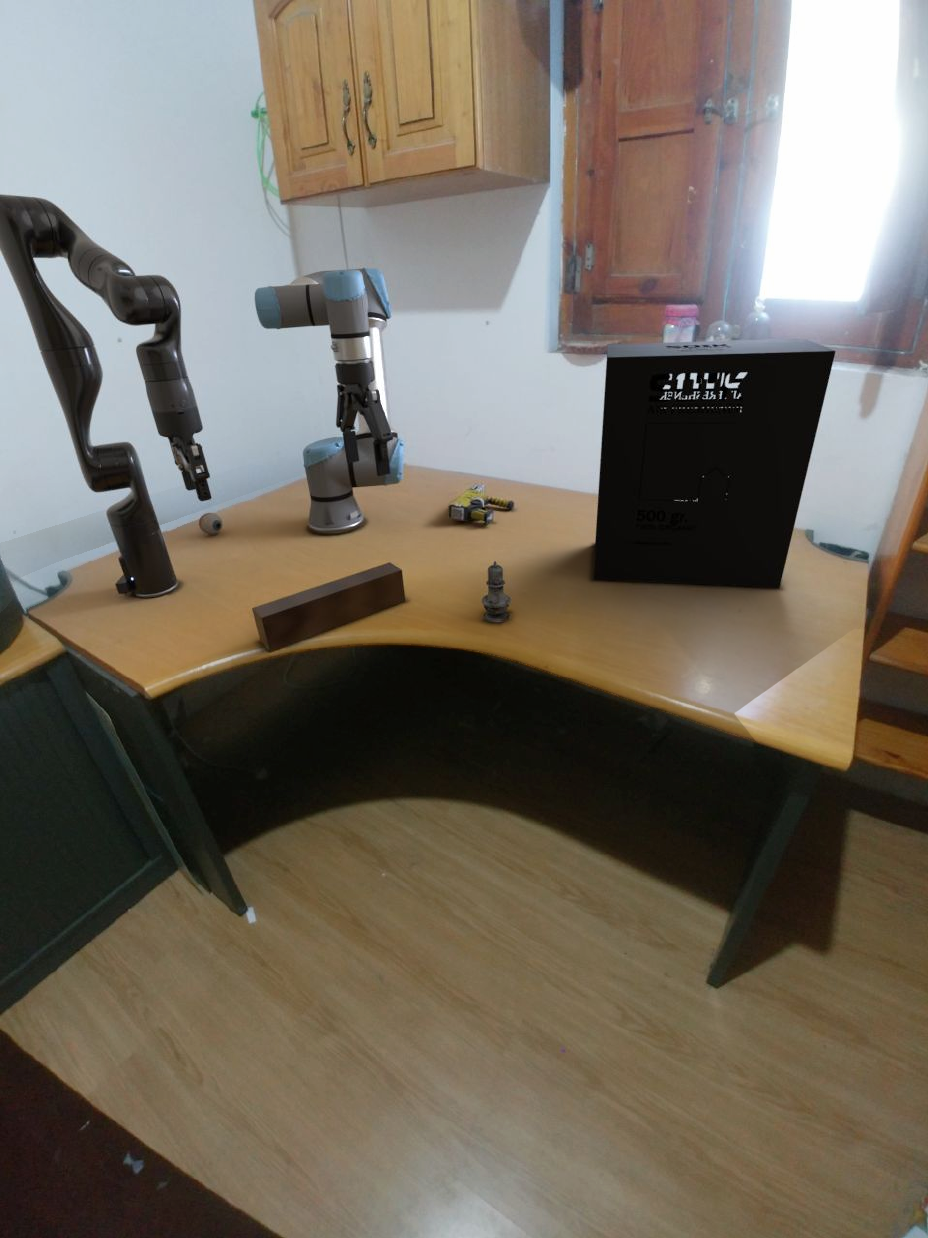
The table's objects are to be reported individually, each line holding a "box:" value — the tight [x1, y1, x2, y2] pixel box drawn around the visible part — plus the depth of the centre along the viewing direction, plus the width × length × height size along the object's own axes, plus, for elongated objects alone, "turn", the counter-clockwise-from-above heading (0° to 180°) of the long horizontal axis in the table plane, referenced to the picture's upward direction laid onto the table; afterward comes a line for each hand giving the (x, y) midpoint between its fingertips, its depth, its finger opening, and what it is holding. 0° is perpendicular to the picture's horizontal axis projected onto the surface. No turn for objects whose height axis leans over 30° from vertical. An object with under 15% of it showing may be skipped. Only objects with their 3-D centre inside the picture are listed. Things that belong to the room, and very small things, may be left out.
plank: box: [251, 562, 406, 653], centre depth 120 cm, size 30×5×8 cm, turn 127°
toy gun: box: [447, 482, 515, 525], centre depth 172 cm, size 5×24×15 cm
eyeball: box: [198, 512, 223, 536], centre depth 167 cm, size 6×6×6 cm
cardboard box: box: [592, 337, 836, 589], centre depth 125 cm, size 38×20×45 cm, turn 78°
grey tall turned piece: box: [480, 560, 512, 623], centre depth 117 cm, size 6×6×12 cm
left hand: (199, 494), depth 114 cm, fingers open, 8 cm apart
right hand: (368, 468), depth 129 cm, fingers open, 13 cm apart
